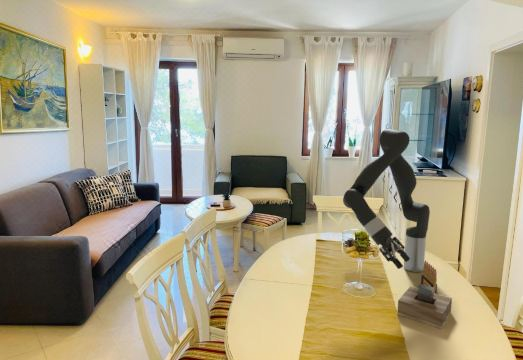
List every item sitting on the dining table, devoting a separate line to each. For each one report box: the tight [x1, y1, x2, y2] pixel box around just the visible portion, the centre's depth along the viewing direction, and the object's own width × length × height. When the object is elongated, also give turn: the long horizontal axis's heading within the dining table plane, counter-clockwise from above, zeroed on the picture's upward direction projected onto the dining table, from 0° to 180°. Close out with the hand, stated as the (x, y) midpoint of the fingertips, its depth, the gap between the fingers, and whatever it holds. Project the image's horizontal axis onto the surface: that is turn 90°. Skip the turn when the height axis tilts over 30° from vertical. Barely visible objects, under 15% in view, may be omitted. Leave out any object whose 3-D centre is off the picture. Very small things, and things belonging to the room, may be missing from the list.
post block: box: [396, 286, 453, 329], centre depth 148 cm, size 14×16×6 cm
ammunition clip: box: [420, 259, 438, 294], centre depth 166 cm, size 11×2×12 cm, turn 3°
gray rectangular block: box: [417, 283, 434, 304], centre depth 147 cm, size 3×5×10 cm, turn 51°
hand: (404, 264), depth 150 cm, fingers open, 8 cm apart
